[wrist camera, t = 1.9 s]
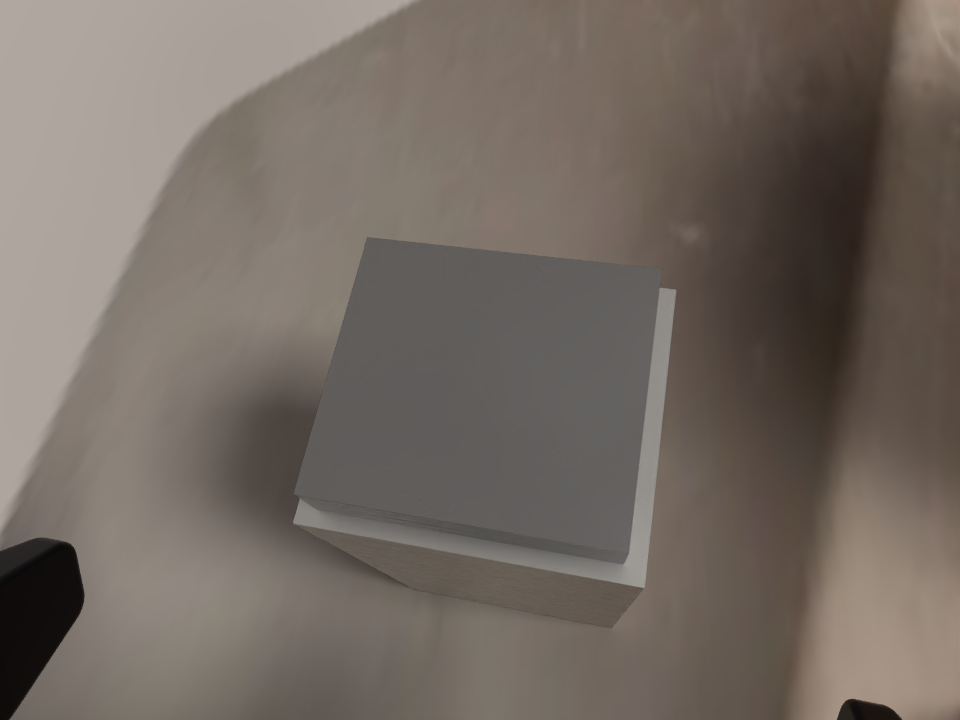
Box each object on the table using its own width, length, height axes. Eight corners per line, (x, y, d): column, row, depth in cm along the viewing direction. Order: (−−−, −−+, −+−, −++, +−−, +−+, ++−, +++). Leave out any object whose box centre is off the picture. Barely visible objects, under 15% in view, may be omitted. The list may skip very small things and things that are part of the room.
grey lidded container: (611, 628, 18) (651, 579, 9) (414, 589, 19) (266, 509, 10) (633, 451, 20) (685, 256, 11) (450, 423, 21) (352, 221, 11)
